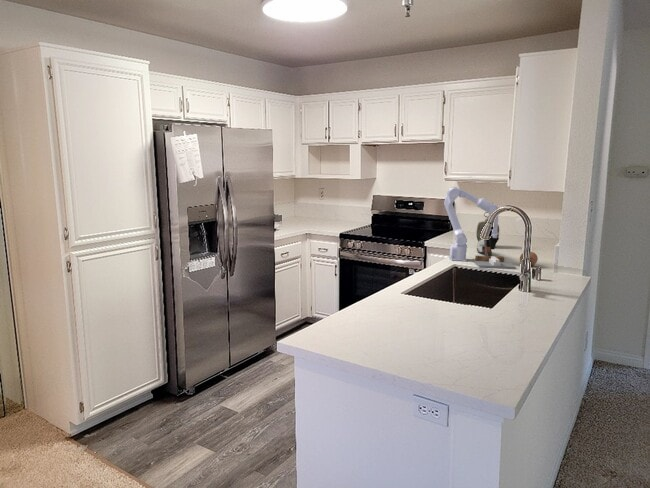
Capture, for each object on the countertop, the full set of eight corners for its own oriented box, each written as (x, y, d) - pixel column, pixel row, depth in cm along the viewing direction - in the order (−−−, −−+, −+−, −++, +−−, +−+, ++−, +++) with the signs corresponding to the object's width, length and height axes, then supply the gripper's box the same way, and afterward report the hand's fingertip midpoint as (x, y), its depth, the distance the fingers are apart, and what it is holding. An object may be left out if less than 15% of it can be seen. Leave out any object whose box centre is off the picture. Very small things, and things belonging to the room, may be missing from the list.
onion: (521, 269, 277) (516, 253, 279) (538, 266, 275) (533, 250, 277) (523, 267, 268) (519, 250, 270) (541, 263, 266) (536, 246, 268)
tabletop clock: (475, 247, 329) (478, 211, 325) (475, 245, 338) (477, 210, 333) (497, 248, 326) (501, 212, 321) (496, 246, 334) (499, 211, 330)
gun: (484, 261, 311) (483, 238, 313) (494, 258, 284) (492, 233, 286) (477, 261, 312) (475, 239, 314) (485, 258, 285) (484, 233, 287)
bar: (476, 262, 281) (476, 256, 281) (474, 261, 284) (475, 255, 284) (503, 263, 280) (504, 257, 279) (502, 262, 283) (502, 256, 282)
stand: (479, 267, 266) (479, 259, 265) (474, 262, 277) (474, 255, 277) (515, 269, 264) (516, 261, 263) (509, 264, 276) (509, 256, 275)
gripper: (503, 227, 271) (500, 250, 273) (496, 224, 285) (494, 246, 287) (490, 226, 271) (488, 250, 274) (484, 223, 286) (482, 245, 288)
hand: (490, 248), depth 281 cm, fingers open, 7 cm apart
